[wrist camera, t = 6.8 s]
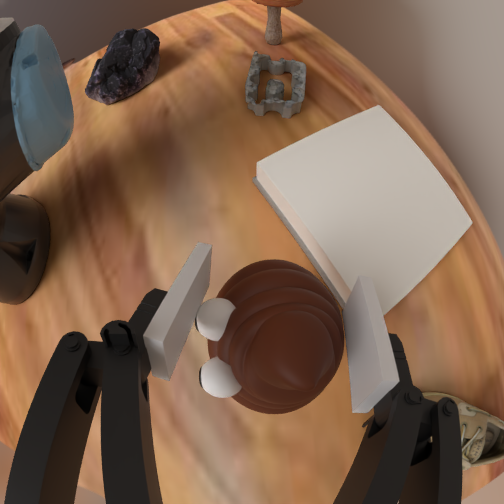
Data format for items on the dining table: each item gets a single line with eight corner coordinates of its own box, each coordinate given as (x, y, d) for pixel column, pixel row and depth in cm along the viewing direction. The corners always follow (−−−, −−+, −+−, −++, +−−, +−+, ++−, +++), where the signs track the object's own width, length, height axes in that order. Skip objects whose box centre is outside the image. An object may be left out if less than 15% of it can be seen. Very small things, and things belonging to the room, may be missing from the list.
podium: (252, 181, 29) (252, 161, 25) (369, 121, 31) (378, 102, 27) (355, 328, 25) (371, 329, 21) (456, 233, 27) (475, 223, 23)
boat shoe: (351, 446, 22) (380, 480, 14) (390, 374, 24) (432, 389, 16) (473, 461, 19) (504, 476, 11) (499, 409, 21) (534, 416, 13)
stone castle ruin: (253, 69, 34) (253, 48, 30) (303, 75, 34) (307, 54, 30) (241, 116, 31) (239, 93, 27) (300, 123, 31) (305, 101, 27)
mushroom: (273, 60, 34) (277, -21, 20) (239, 42, 36) (235, -30, 21) (306, 46, 35) (317, -25, 21) (273, 29, 37) (276, -36, 22)
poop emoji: (333, 397, 17) (401, 449, 8) (212, 409, 16) (191, 483, 7) (324, 260, 19) (391, 215, 10) (202, 267, 18) (169, 223, 9)
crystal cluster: (79, 109, 34) (52, 75, 24) (115, 55, 36) (99, 20, 26) (142, 113, 34) (121, 70, 24) (177, 55, 36) (168, 13, 26)
